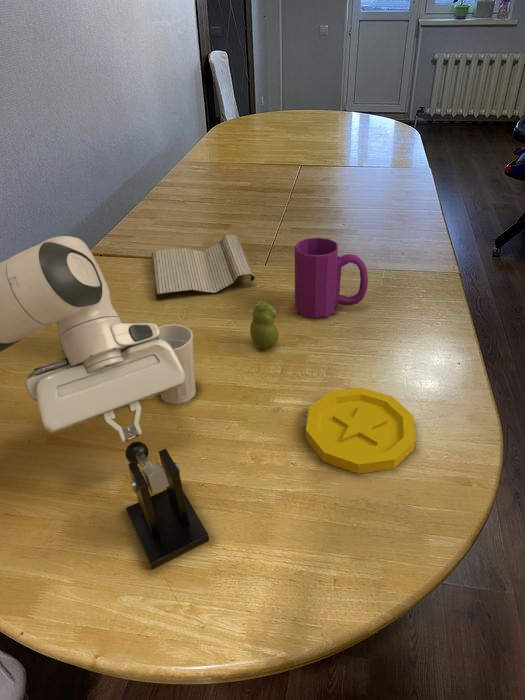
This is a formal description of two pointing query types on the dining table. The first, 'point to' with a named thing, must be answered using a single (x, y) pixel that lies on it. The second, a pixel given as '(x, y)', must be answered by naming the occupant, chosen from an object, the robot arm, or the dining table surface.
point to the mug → (323, 277)
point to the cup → (183, 348)
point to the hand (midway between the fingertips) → (132, 438)
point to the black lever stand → (164, 516)
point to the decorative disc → (360, 430)
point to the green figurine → (264, 325)
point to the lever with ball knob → (147, 466)
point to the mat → (200, 267)
